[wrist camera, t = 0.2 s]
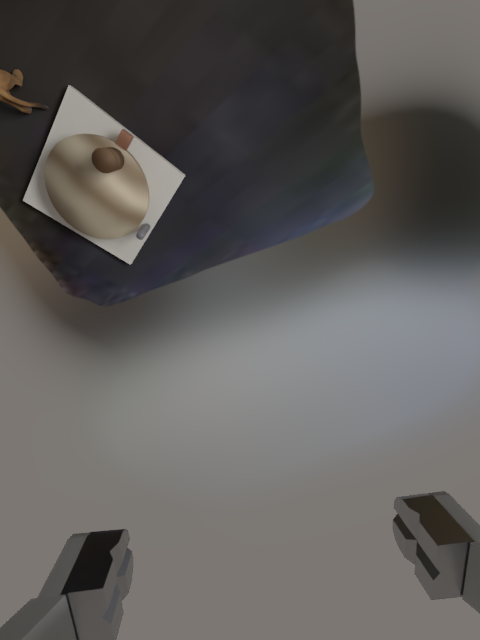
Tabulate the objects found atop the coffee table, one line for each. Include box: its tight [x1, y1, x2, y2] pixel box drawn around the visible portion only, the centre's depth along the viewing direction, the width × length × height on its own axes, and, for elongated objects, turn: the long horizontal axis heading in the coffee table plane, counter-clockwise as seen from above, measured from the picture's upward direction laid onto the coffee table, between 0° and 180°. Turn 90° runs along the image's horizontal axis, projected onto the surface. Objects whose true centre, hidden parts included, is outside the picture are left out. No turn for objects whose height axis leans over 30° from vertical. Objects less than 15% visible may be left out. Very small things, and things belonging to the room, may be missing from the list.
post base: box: [23, 85, 185, 265], centre depth 46 cm, size 19×19×8 cm
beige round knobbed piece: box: [44, 129, 149, 239], centre depth 43 cm, size 17×15×6 cm
